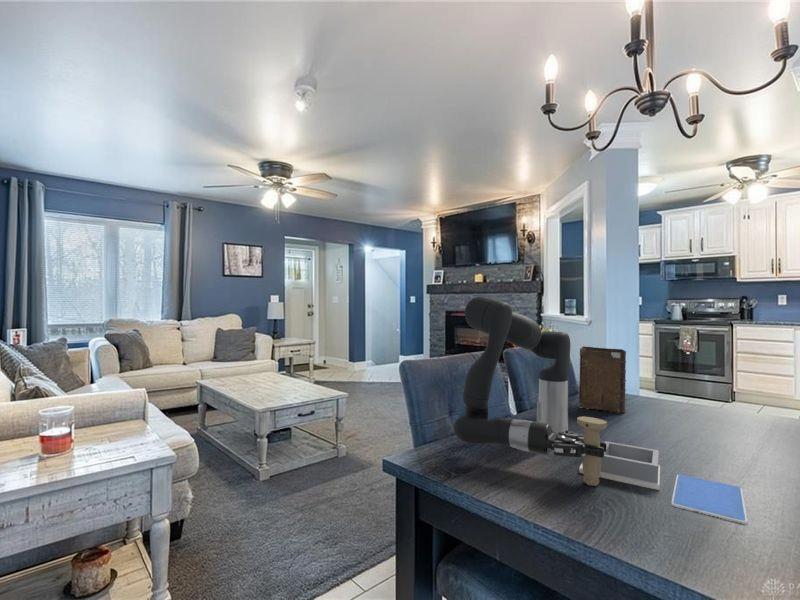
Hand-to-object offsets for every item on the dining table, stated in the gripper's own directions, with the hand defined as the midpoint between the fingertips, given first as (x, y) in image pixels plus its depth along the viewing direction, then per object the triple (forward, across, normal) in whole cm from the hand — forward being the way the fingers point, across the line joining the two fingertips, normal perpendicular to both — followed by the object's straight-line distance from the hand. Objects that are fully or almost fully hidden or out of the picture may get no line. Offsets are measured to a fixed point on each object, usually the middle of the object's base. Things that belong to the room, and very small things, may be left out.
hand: (604, 450), depth 95 cm
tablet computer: (+20, +7, +9) cm, 23 cm away
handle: (-3, 0, +9) cm, 9 cm away
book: (-10, +77, +9) cm, 78 cm away
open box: (+2, +12, +8) cm, 15 cm away
